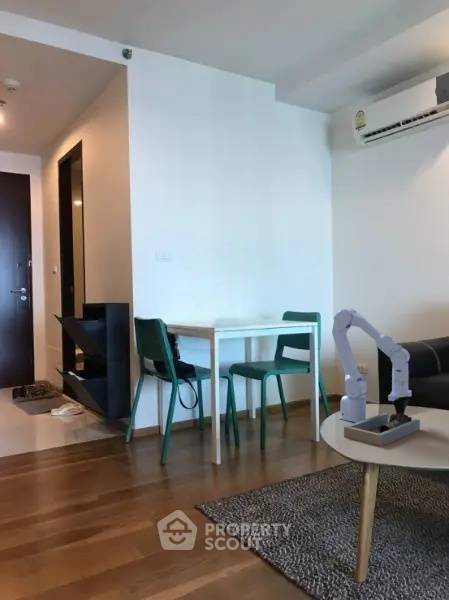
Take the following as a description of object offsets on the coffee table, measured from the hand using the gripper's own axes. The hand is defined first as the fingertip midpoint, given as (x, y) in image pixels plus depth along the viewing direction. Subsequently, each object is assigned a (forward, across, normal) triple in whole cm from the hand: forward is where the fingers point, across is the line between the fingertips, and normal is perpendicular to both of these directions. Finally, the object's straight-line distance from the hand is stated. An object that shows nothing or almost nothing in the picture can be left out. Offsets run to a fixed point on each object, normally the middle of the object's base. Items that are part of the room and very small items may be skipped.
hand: (400, 417), depth 177 cm
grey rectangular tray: (+3, -12, 0) cm, 13 cm away
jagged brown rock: (+4, -8, -2) cm, 9 cm away
